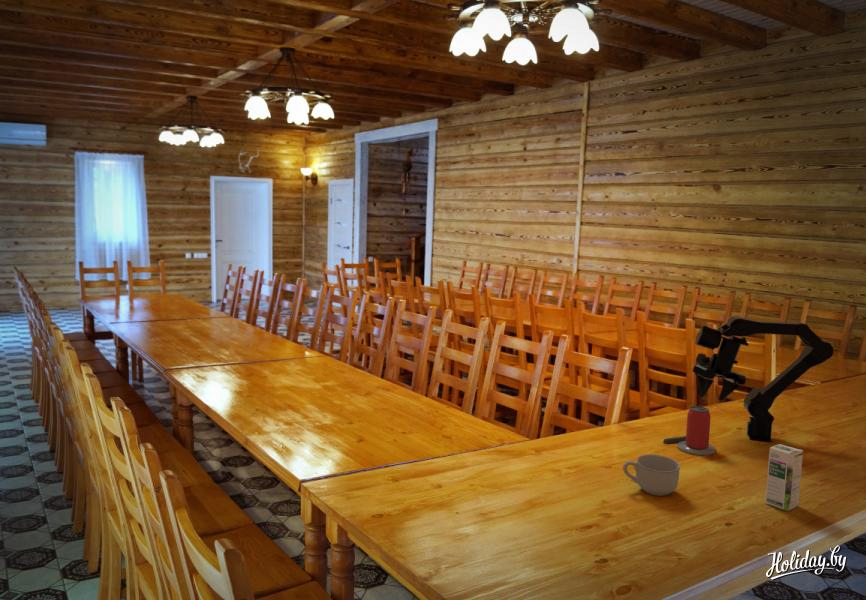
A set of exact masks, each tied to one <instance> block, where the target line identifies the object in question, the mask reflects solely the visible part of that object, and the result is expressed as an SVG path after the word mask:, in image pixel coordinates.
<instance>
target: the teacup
mask: <svg viewBox="0 0 866 600" xmlns="http://www.w3.org/2000/svg"><path fill="white" fill-rule="evenodd" d="M629 466H632V467H633V468H634V471H635V475H634V474H631V473H630V472H629V470H628V467H629ZM680 469H681V464H680V462H678V461H677V460H676V459H673V458H672V457H668V456H666V455H661V454H654V453H653V454H652V453H651V454H642V455H639V456H638V457H637V458H636V461H633V460H627V461H625V462H624V463H623V466H622V471H623V473H624V474H625V475H626V476H627V477H628V478H630V479H631V480H632V481H633V482H634V483H635V484H637V485H638V486H639V487H640V489H642V491H644V492H645V493H647V494H649V495H651V496H658V497H659V496H660V497H664V496H667V495H669V494H671V493H673V492H674V491H675V490H676V489H677V487H678V484H679V479H680Z"/></svg>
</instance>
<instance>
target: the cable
mask: <svg viewBox="0 0 866 600" xmlns="http://www.w3.org/2000/svg"><path fill="white" fill-rule="evenodd" d="M682 441H686V435H684V436H683V435H682V436H676V437H675V436H674V437H668V438H664V439H663V442H662V443H663V444H665V445H668V444H675V443H679V442H682Z"/></svg>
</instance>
